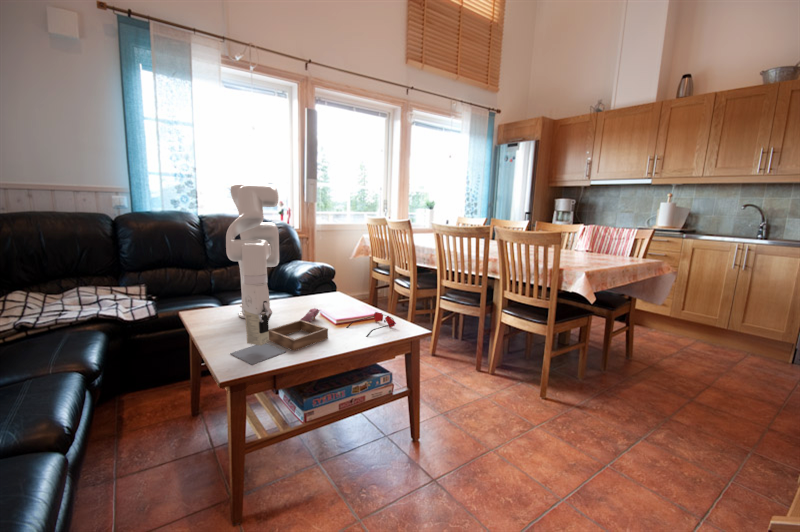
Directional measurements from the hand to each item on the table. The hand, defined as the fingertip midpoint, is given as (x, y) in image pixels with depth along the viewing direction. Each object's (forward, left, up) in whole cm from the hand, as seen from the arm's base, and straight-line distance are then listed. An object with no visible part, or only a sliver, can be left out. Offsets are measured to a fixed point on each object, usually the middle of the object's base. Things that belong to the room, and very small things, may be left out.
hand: (257, 329), depth 125 cm
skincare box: (0, 0, -5) cm, 5 cm away
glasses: (+13, +45, -9) cm, 48 cm away
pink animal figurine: (-13, +34, -9) cm, 37 cm away
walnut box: (0, +17, -9) cm, 19 cm away
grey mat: (0, 0, -9) cm, 9 cm away
